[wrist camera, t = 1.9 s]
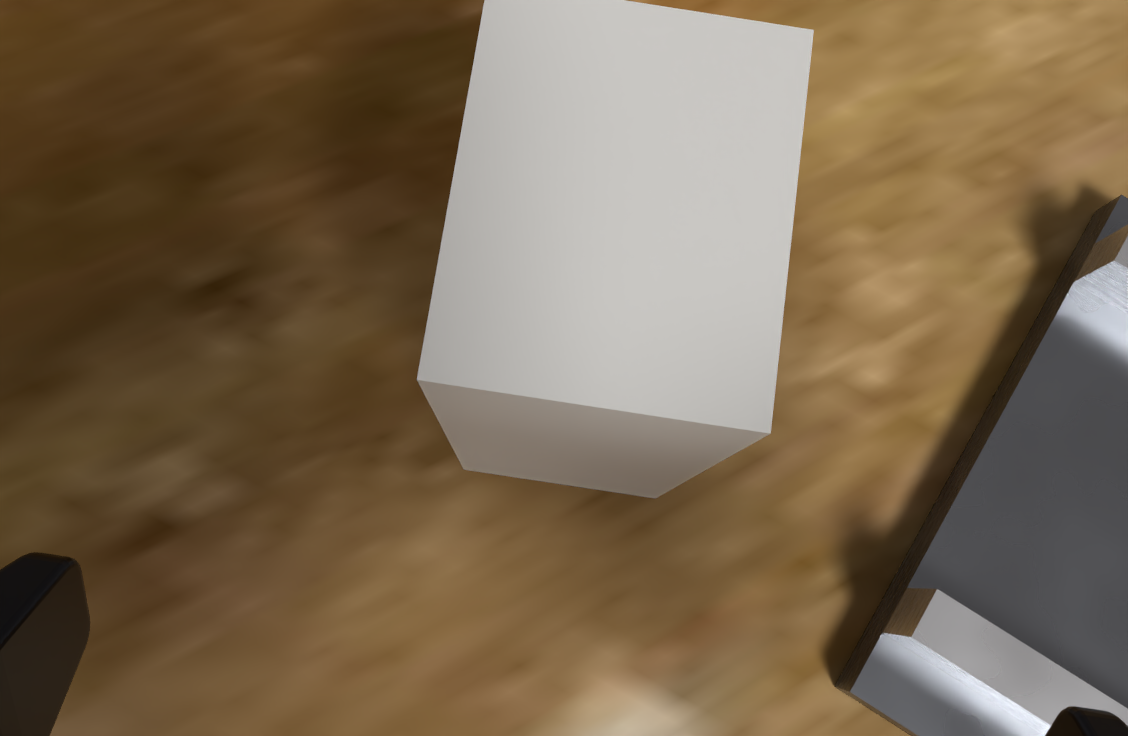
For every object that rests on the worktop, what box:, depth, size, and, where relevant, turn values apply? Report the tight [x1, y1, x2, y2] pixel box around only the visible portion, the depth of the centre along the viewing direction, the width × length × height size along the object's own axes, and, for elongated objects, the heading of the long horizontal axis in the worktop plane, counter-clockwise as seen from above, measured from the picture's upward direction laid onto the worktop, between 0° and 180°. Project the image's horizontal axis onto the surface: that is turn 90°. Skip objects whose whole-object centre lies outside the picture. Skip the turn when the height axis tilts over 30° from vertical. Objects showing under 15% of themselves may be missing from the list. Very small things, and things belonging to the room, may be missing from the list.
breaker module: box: [417, 0, 814, 498], centre depth 17 cm, size 6×4×10 cm
